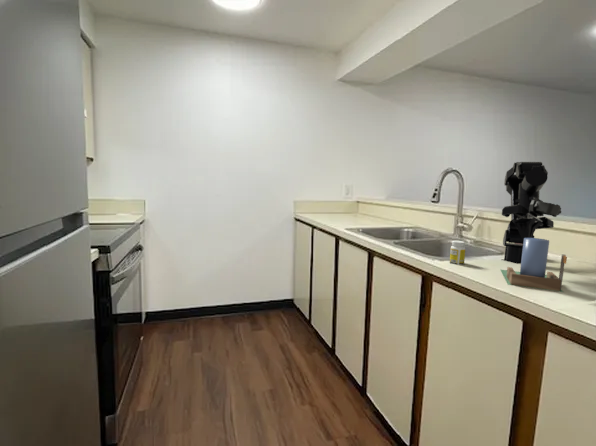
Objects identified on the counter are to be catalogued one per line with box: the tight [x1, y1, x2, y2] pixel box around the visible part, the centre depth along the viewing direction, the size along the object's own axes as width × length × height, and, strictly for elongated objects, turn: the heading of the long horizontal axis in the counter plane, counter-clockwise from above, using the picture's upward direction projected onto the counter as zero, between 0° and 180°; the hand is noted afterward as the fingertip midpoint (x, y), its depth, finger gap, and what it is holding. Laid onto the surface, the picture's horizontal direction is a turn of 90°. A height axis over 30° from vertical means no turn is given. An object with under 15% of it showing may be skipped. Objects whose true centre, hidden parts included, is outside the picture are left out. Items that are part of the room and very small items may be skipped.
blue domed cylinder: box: [519, 237, 550, 277], centre depth 99 cm, size 6×6×13 cm
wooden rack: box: [506, 254, 568, 292], centre depth 99 cm, size 12×12×10 cm
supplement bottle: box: [449, 240, 466, 266], centre depth 123 cm, size 5×5×8 cm
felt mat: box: [500, 269, 564, 293], centre depth 104 cm, size 19×13×1 cm
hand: (526, 242), depth 111 cm, fingers closed
